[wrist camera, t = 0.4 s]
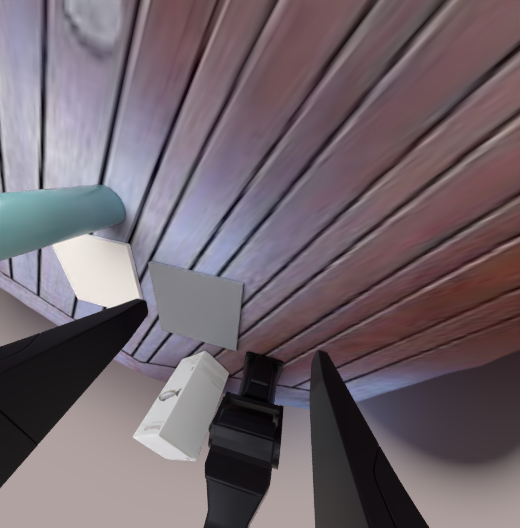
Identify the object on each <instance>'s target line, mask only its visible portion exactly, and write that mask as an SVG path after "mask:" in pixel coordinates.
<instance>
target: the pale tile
mask: <svg viewBox="0 0 520 528" xmlns="http://www.w3.org/2000/svg"><path fill="white" fill-rule="evenodd" d="M52 246H53V248H54V250H55V252H56V254H57V257H58V259H59V261H60V263H61V265H62V267H63V269H64V271H65V273H66V275H67V278H68V280H69V282H70V284H71V286H72V288H73V290H74V292H75V294H76V296H77V298H78V299H80V300H84V301H87V302H91V303H94V304H98V305H101V306H105V307H108V308H111V307H114V306H117V305H120V304H123V303H126V302H128V301H131V300H134V299H137V298H139V299H143V296H142V291H141V287H140V283H139V279H138V275H137V271H136V267H135V263H134V259H133V255H132V251H131V247H130V244H128V243H123V242H119V241H115V240H110V239H106V238H101V237H97V236H93V235H88V234H85V235H82V236H79V237H76V238H73V239H69V240H66V241H63V242H60V243H57V244H53V245H52Z"/></svg>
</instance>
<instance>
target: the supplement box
mask: <svg viewBox="0 0 520 528" xmlns="http://www.w3.org/2000/svg"><path fill="white" fill-rule="evenodd" d="M228 375H229V372H228V371H227V370H226V369H225V368H224V367H223V366H222V365H221V364H220V363H218V362H217V361H216V360H215V359H214V358H213V357H212V356H211V355H210V354H209V353H208V352H207V351H206V350H205V351H203V352H201V353H198V354H196V355H193V356H190V357H187V358H184V359H182V361H181V362H180V364H179V365H178V367H177V368H176V370H175V371H174V373H173V374H172V376H171V378H170V379H169V381H168V382H167V384H166V385H165V387H164V388H163V390H162V392H161V393H160V395H159V396H158V398H157V399H156V401H155V403H154V404H153V406H152V407H151V409H150V410H149V412H148V414H147V415H146V417H145V418H144V420H143V421H142V423H141V424H140V426H139V428H138V429H137V431H136V432H135V434H134V435H133V438H135V439H136V440H137V441H139V442H140V443H142V444H143V445H145V446H147V447H148V448H150V449H151V450H153V451H154V452H156V453H158V454H159V455H161V456H162V457H164V458H166V459H168V460H170V459H171V460H186V461H196V460H197V459H198V456H199V453H200V451H201V448H202V445H203V443H204V440H205V437H206V434H207V432H208V429H209V426H210V424H211V421H212V418H213V416H214V413H215V410H216V408H217V405H218V402H219V400H220V397H221V394H222V392H223V389H224V386H225V384H226V381H227V378H228Z"/></svg>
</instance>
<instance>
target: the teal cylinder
mask: <svg viewBox="0 0 520 528" xmlns="http://www.w3.org/2000/svg"><path fill="white" fill-rule="evenodd" d="M124 218H125V208H124V205H123V203H122V201H121V199H120V198H119V196H118V195H117V194H116V193H115V192H114V191H113V190H112V189H110V188H109V187H107V186H105V185H101V184H98V185H87V186H75V187H64V188H53V189H41V190H30V191H19V192H7V193H0V261H2V260H5V259H8V258H12V257H15V256H18V255H21V254H24V253H28V252H31V251H34V250H37V249H40V248H44V247H47V246H50V245H53V244H57V243H60V242H63V241H66V240H69V239H73V238H76V237H79V236H82V235H85V234H89V233H92V232H95V231H98V230H101V229H105V228H108V227H111V226H114V225H118V224H120V223H122V222H123V221H124Z"/></svg>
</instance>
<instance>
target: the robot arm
mask: <svg viewBox="0 0 520 528" xmlns="http://www.w3.org/2000/svg"><path fill="white" fill-rule="evenodd" d="M147 315H148V308H147V303H146V301H145V300H143V299H139V298H137V299H134V300H131V301H128V302H126V303H123V304H120V305H117V306H114V307H111V308H109V309H106V310H103V311H100V312H97V313H95V314H92V315H89V316H86V317H83V318H81V319H78V320H75V321H72V322H69V323H66V324H64V325H61V326H58V327H55V328H53V329H50V330H47V331H44V332H42V333H41V334H40V333H38V334H35V335H33V336H30V337H27V338H24V339H21V340H18V341H15V342H13V343H10V344H7V345H4V346H1V347H0V488H1V487H2V485H3V484H4V483H5V482H6V481H7V480H8V478H9V477H10V476H11V475H12V474H13V473H14V472H15V471H16V469H17V468H18V467H19V466H20V465H21V464H22V462H23V461H24V460H25V459H26V458H27V457H28V456H29V455H30V453H31V452H32V451H33V450H34V449H35V448H36V446H37V445H38V444H39V443H40V442H41V441H42V440H43V438H44V437H45V436H46V435H47V434H48V433H49V432H50V430H51V429H52V428H53V427H54V426H55V424H56V423H57V422H58V421H59V420H60V419H61V418H62V417H63V416H64V414H65V413H66V412H67V411H68V410H69V408H71V406H72V405H73V404H74V403H75V402H76V401H77V399H78V398H79V397H80V396H81V395H82V394H83V393H84V392H85V390H86V389H87V388H88V387H89V386H90V385H91V384H92V382H93V381H94V380H95V379H96V378H97V377H98V376H99V374H100V373H101V372H102V371H103V370H104V369H105V367H106V366H107V365H108V364H109V363H110V362H111V361H112V360H113V358H114V357H115V356H116V355H117V354H118V353H119V352H120V350H121V349H122V348H123V347H124V346H125V345H126V343H127V342H128V341H129V340H130V338H131V337H132V336H133V334H134V333H135V332H136V330H137V329H138V327H139V326H140V325H141V323H142V322H143V321H144V319H145V318H146V316H147ZM282 368H283V362H282V361H280V360H276V359H273V358H269V357H266V356H262V355H259V354H255V353H252V352H246V356H245V362H244V369H243V374H244V375H243V378H242V382H241V385H240V389H239V392H238V395H236V394H232V393H230V392H226V395H225V397H223V400H222V402H221V404H220V406H219V408H218V411H217V413H216V415H215V417H214V419H213V420H212V422H211V424H210V426H209V432H210V436H209V442H208V446H209V448H210V450H209V453H208V456H207V459H206V462H205V478H206V482H207V498H208V513H207V517H206V521H205V524H204V528H249V526H250V524H251V522H252V520H253V519H254V517H255V515H256V513H257V511H258V509H259V508H260V506H261V504H262V502H263V500H264V498H265V497H266V495H267V493H268V490H269V486H270V480H271V471H272V468H274V469H278V464H279V456H280V446H281V434H282V419H283V406H281V405H280V406H278V405H274V401H275V394H276V386H277V383H278V380H279V377H280V374H281V371H282ZM310 420H311V421H310V422H311V444H312V465H313V486H314V508H315V528H429V526H428V525H427V524H426V522H425V520H424V519H423V517H422V515H421V514H420V512H419V511H418V509H417V508H416V506H415V505H414V503H413V501H412V500H411V498H410V497H409V495H408V493H407V492H406V490H405V489H404V487H403V485H402V484H401V482H400V480H399V479H398V477H397V475H396V473H395V472H394V470H393V468H392V467H391V465H390V463H389V461H388V460H387V458H386V456H385V454H384V453H383V451H382V449H381V447H380V446H379V444H378V442H377V440H376V438H375V437H374V435H373V433H372V431H371V430H370V428H369V426H368V424H367V422H366V421H365V419H364V417H363V415H362V414H361V412H360V410H359V408H358V407H357V405H356V403H355V401H354V399H353V398H352V396H351V394H350V392H349V390H348V389H347V387H346V385H345V383H344V382H343V380H342V378H341V376H340V374H339V373H338V371H337V369H336V367H335V366H334V364H333V362H332V360H331V358H330V357H329V355H328V353H327V352H326V351H323V350H317V351H316V353H315V355H314V358H313V360H312V365H311V382H310ZM276 426H277V427H276Z"/></svg>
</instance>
